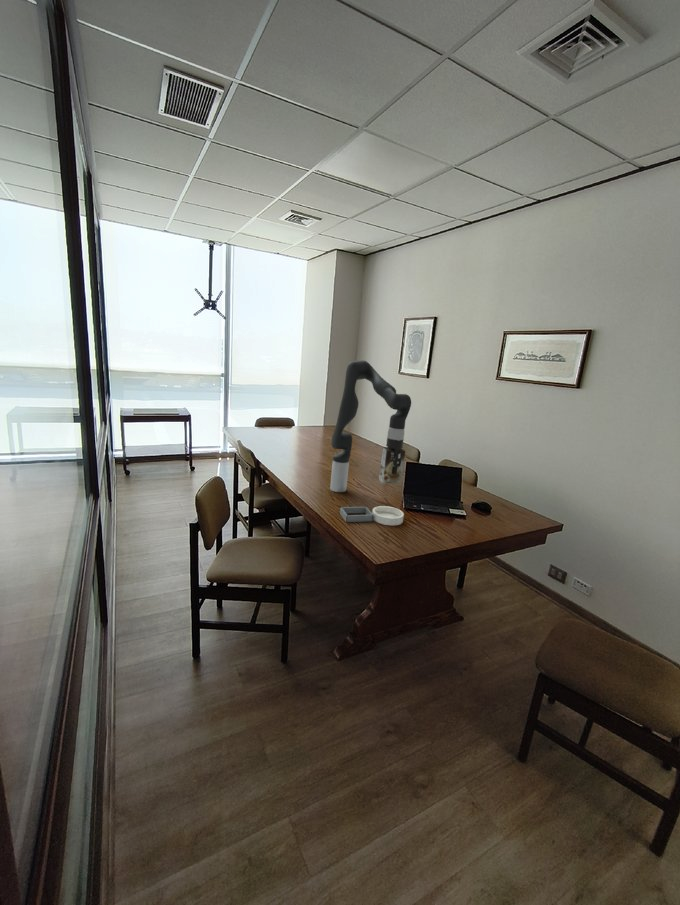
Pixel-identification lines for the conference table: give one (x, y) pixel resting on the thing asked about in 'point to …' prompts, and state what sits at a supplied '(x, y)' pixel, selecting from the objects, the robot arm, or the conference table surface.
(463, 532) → the conference table surface
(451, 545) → the conference table surface
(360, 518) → the grey rectangular frame
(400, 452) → the coffee box
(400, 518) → the bowl
